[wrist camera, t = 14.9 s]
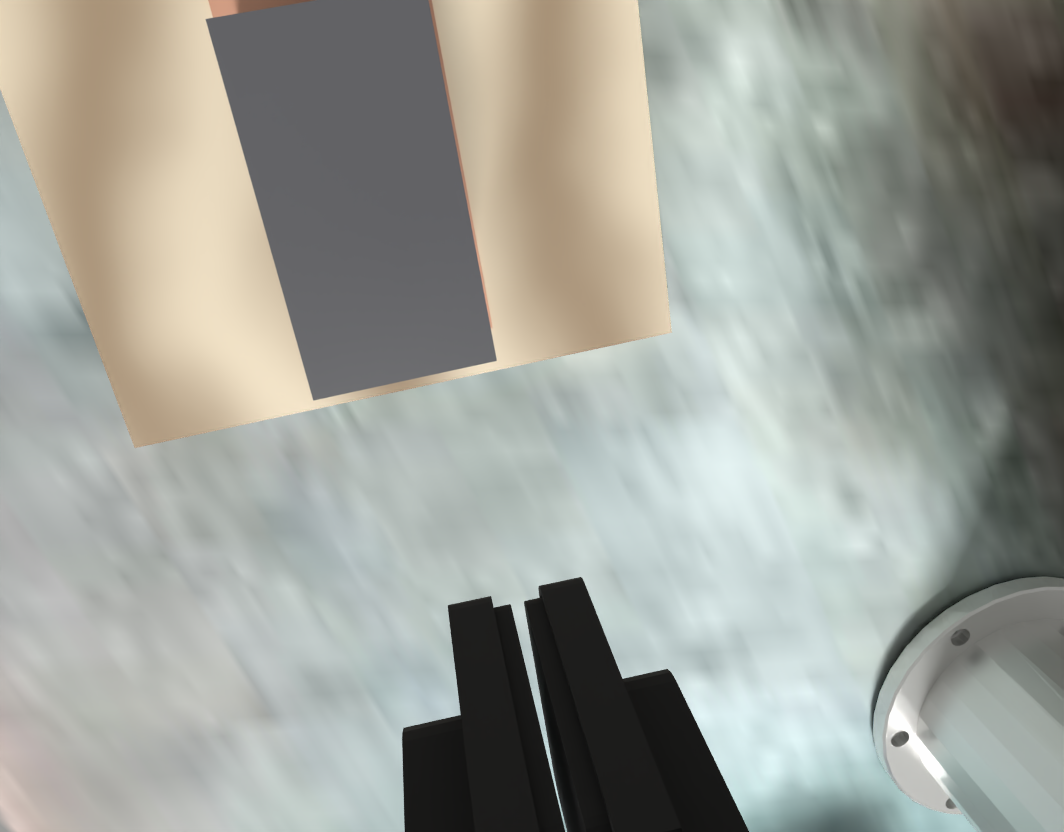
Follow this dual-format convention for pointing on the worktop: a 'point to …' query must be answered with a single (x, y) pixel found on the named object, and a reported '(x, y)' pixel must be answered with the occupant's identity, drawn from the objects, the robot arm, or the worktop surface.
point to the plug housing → (358, 187)
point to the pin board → (234, 217)
